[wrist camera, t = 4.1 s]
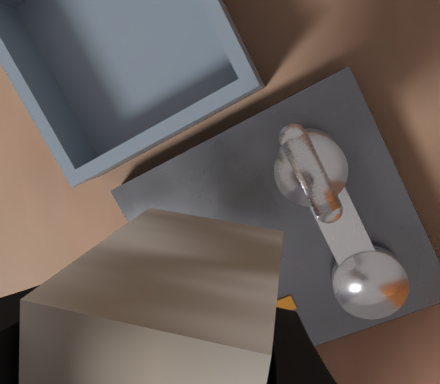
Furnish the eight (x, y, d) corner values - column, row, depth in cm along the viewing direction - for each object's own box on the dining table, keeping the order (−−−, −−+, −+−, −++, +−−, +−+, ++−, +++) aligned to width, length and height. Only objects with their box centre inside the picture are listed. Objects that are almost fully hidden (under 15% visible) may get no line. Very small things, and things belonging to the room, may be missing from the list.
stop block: (283, 231, 12) (271, 355, 6) (262, 354, 13) (233, 565, 7) (149, 207, 12) (20, 299, 7) (138, 326, 13) (16, 499, 7)
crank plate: (220, 365, 22) (216, 381, 21) (120, 185, 21) (109, 191, 20) (446, 285, 19) (456, 298, 18) (345, 67, 18) (349, 65, 16)
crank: (414, 293, 18) (455, 362, 13) (348, 316, 19) (365, 389, 14) (322, 100, 17) (333, 102, 12) (257, 134, 18) (243, 148, 13)
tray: (102, 175, 21) (71, 187, 18) (7, 5, 20) (-42, -10, 17) (265, 86, 18) (259, 85, 16) (168, -112, 17) (142, -153, 14)
